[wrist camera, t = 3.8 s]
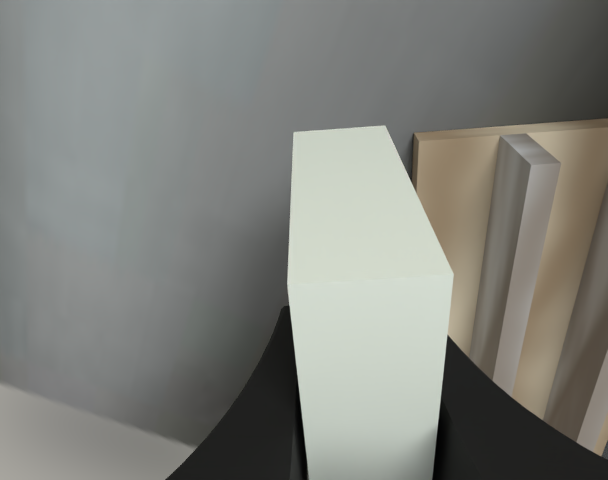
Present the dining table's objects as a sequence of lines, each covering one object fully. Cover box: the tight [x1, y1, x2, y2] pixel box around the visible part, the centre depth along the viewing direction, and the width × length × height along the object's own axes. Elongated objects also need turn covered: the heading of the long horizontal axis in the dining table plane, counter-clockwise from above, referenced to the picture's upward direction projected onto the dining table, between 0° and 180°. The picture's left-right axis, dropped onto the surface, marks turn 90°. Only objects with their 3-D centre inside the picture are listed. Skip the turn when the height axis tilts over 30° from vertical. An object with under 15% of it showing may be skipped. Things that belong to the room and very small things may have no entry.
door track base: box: [412, 118, 608, 456], centre depth 24 cm, size 12×22×4 cm, turn 4°
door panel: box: [287, 126, 454, 480], centre depth 13 cm, size 2×10×7 cm, turn 4°
